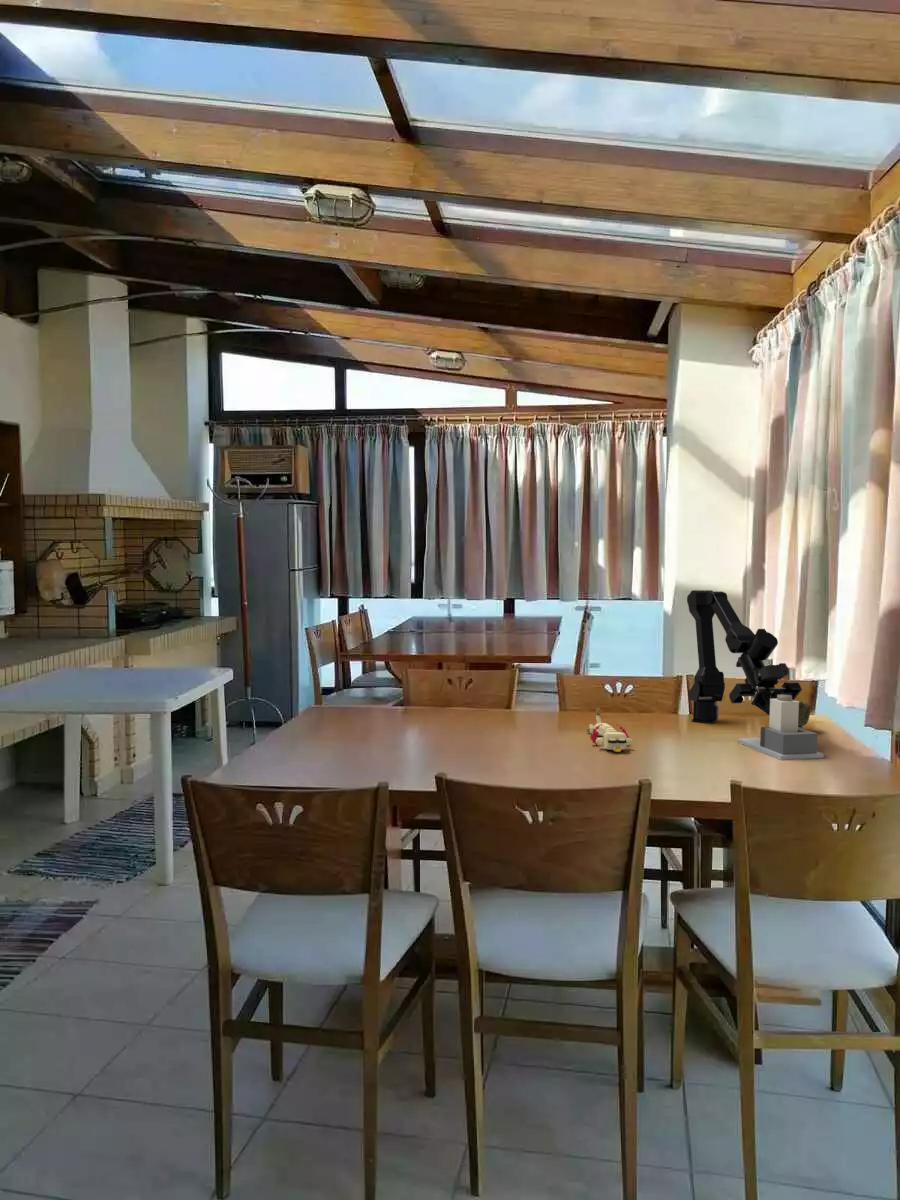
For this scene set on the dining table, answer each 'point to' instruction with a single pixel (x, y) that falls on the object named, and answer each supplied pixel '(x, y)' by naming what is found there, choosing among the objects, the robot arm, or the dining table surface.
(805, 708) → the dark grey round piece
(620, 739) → the cream blocky figure
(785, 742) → the socket
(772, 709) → the beige block
